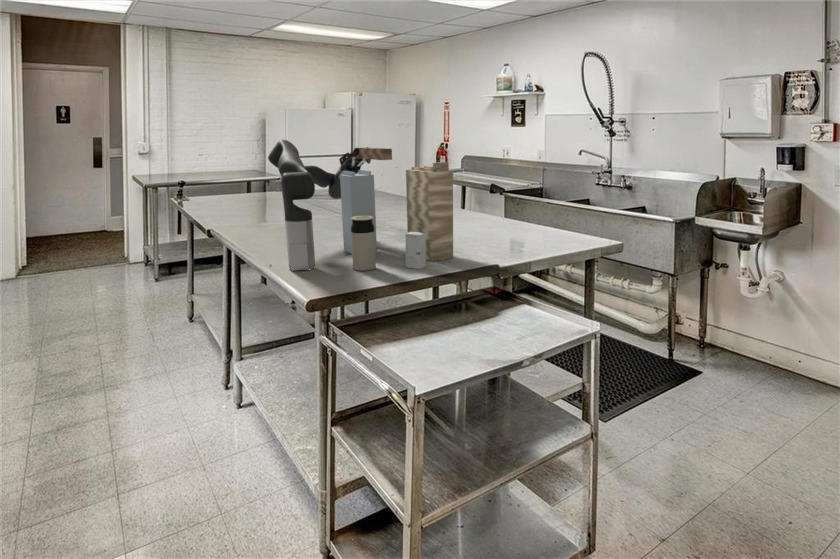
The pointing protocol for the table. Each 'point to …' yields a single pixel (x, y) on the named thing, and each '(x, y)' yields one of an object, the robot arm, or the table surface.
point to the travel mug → (363, 243)
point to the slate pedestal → (356, 201)
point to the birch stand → (431, 208)
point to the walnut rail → (375, 153)
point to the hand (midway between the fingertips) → (363, 149)
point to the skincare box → (415, 250)
